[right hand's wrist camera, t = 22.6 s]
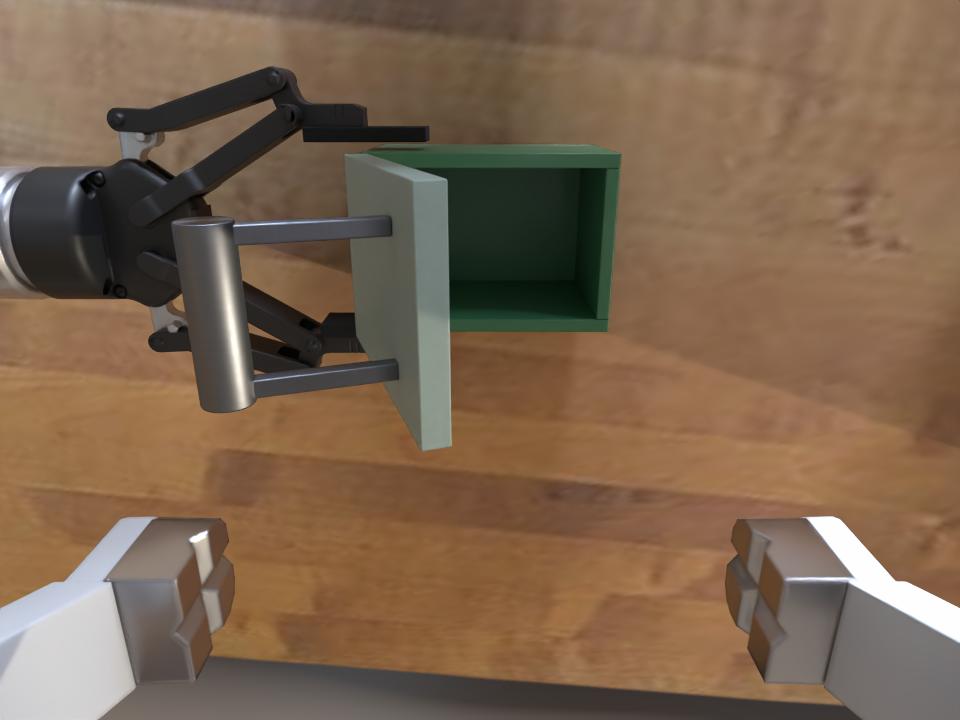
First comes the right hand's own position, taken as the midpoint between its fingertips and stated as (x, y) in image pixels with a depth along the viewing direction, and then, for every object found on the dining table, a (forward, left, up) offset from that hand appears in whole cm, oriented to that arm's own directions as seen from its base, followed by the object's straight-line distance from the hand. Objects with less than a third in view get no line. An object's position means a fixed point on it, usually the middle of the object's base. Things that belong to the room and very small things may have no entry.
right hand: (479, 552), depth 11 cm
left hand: (+2, -2, -29) cm, 30 cm away
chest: (0, 0, -36) cm, 36 cm away
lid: (+2, -3, -19) cm, 19 cm away
